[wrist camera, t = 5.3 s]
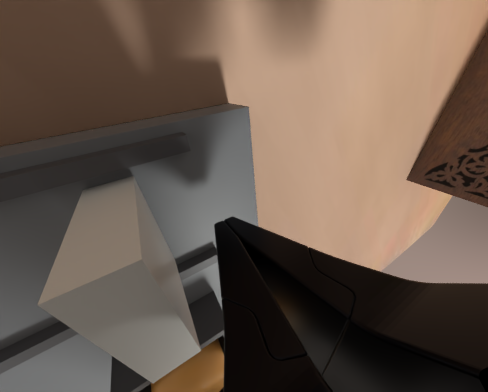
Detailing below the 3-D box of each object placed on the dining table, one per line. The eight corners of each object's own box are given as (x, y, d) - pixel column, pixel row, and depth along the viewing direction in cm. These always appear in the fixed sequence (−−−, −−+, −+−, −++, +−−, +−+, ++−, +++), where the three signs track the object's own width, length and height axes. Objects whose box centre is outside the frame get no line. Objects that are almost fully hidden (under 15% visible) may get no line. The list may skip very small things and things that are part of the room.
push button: (218, 336, 15) (234, 380, 13) (162, 373, 13) (170, 432, 11) (206, 310, 12) (224, 360, 10) (136, 352, 11) (139, 422, 9)
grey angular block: (175, 260, 10) (201, 350, 6) (142, 275, 9) (153, 383, 6) (133, 175, 7) (141, 259, 4) (82, 190, 6) (37, 305, 3)
